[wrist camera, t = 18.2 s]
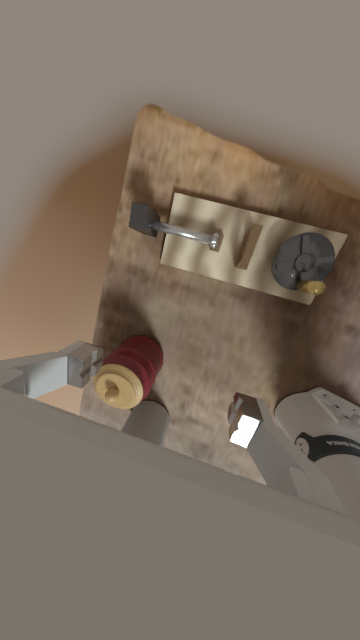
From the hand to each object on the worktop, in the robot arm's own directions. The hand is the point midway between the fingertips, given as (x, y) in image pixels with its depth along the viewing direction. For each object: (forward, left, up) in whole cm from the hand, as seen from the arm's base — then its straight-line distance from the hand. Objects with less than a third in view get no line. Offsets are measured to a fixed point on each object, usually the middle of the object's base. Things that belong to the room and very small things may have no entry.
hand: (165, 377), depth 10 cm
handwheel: (-16, -11, -28) cm, 35 cm away
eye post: (-6, -11, -31) cm, 34 cm away
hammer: (+8, -11, -31) cm, 34 cm away
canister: (+11, +22, -33) cm, 41 cm away
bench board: (-6, -11, -33) cm, 35 cm away
